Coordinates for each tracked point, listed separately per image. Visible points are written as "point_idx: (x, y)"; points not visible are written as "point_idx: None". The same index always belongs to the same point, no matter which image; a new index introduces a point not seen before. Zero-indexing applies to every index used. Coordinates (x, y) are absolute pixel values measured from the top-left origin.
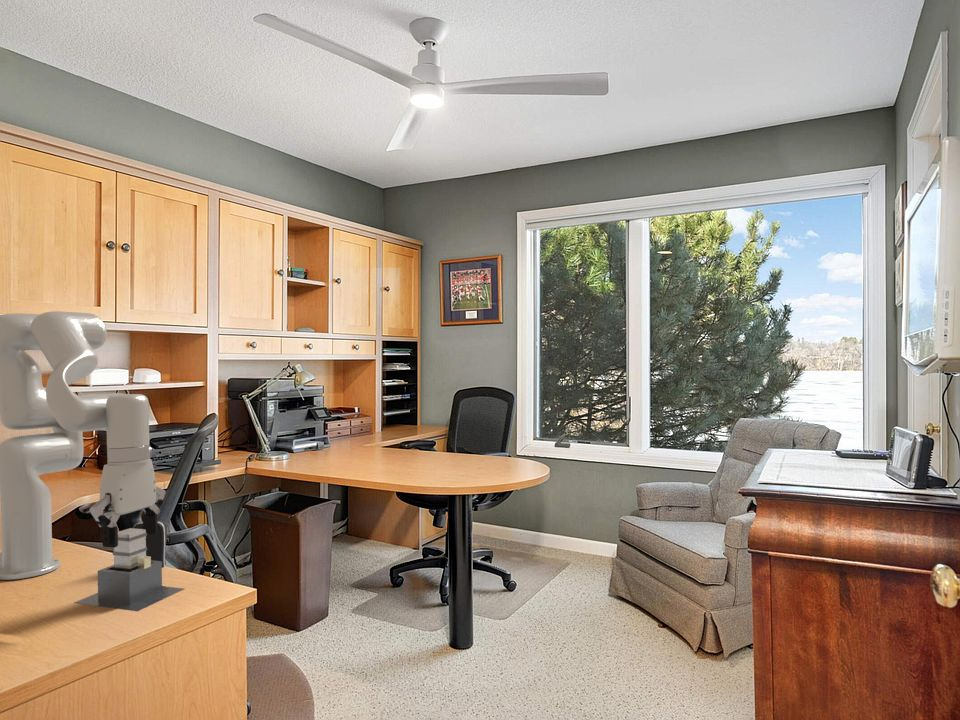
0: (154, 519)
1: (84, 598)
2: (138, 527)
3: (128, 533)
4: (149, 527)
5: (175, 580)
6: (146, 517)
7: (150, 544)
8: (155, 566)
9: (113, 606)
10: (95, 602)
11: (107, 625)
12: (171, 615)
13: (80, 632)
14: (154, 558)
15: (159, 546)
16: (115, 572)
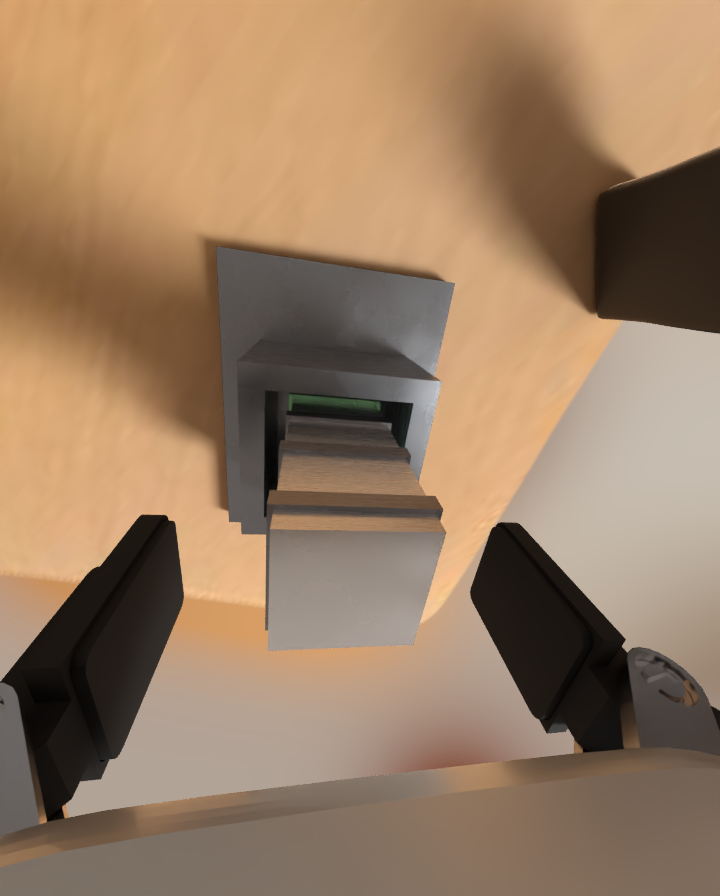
0: (523, 687)
1: (266, 256)
2: None
3: (294, 626)
4: (498, 598)
5: (501, 422)
6: (554, 653)
7: (713, 268)
8: None
9: (235, 432)
10: (245, 341)
11: (155, 482)
12: (263, 574)
13: (85, 449)
14: (640, 289)
15: (693, 315)
16: (241, 467)
